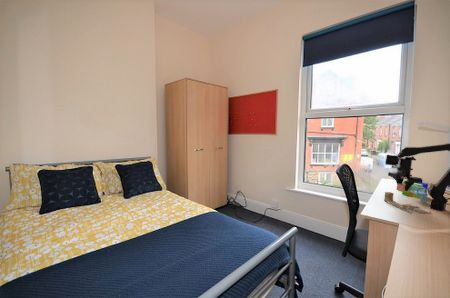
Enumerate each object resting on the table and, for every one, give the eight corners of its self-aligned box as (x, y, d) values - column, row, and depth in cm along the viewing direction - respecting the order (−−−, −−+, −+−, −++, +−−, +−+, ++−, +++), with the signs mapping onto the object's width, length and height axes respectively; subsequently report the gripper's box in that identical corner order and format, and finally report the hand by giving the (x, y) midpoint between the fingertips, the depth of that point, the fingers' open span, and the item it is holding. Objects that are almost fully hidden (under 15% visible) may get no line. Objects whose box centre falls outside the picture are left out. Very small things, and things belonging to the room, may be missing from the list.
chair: (429, 205, 133) (431, 187, 132) (414, 204, 135) (416, 186, 133) (420, 201, 141) (423, 184, 139) (406, 199, 142) (408, 183, 141)
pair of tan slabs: (411, 205, 129) (411, 204, 129) (429, 213, 118) (429, 211, 118) (404, 205, 129) (404, 204, 129) (421, 213, 118) (422, 211, 118)
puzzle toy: (426, 197, 148) (428, 183, 147) (418, 198, 145) (420, 185, 144) (409, 192, 158) (411, 180, 156) (402, 194, 154) (403, 181, 153)
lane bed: (399, 201, 138) (399, 199, 138) (431, 214, 118) (431, 211, 118) (381, 202, 137) (381, 199, 137) (410, 215, 118) (410, 212, 117)
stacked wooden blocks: (390, 200, 138) (390, 192, 137) (409, 208, 124) (410, 199, 124) (383, 200, 137) (384, 192, 137) (402, 208, 124) (403, 199, 123)
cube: (396, 189, 136) (397, 183, 135) (402, 189, 136) (403, 183, 135) (402, 192, 131) (403, 185, 131) (409, 192, 132) (409, 185, 131)
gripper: (381, 163, 140) (379, 185, 142) (407, 169, 122) (404, 194, 124) (396, 163, 141) (394, 185, 143) (424, 169, 123) (421, 194, 124)
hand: (402, 189), depth 133 cm, fingers closed on cube, 4 cm apart
